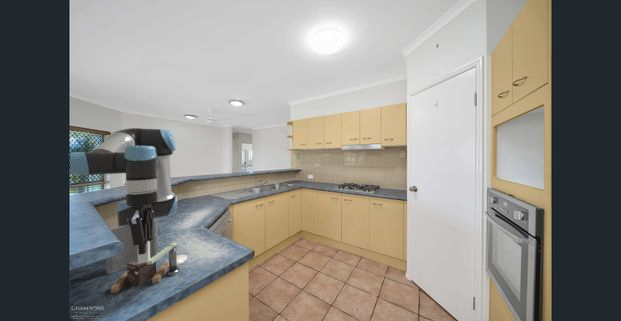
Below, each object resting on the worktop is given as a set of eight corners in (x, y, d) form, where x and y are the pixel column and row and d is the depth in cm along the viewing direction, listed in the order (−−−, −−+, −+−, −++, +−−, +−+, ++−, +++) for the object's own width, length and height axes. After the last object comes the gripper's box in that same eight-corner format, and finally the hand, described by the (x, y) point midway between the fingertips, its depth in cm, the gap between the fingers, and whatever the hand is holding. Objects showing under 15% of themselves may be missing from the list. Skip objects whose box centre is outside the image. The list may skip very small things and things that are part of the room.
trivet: (165, 259, 81) (165, 257, 81) (189, 254, 85) (189, 252, 85) (158, 270, 73) (158, 268, 73) (184, 264, 77) (184, 262, 77)
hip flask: (106, 274, 71) (105, 224, 71) (106, 270, 74) (105, 222, 73) (158, 257, 83) (157, 214, 82) (157, 254, 85) (156, 213, 85)
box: (126, 283, 66) (126, 263, 66) (146, 273, 71) (145, 255, 71) (138, 286, 64) (137, 266, 64) (156, 276, 70) (156, 257, 69)
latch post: (168, 270, 73) (167, 246, 72) (181, 268, 74) (180, 244, 74) (164, 277, 68) (163, 251, 68) (178, 274, 70) (177, 249, 70)
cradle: (126, 276, 70) (126, 271, 70) (168, 267, 75) (167, 262, 75) (110, 294, 60) (110, 288, 60) (159, 282, 66) (158, 277, 66)
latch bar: (144, 265, 59) (144, 261, 59) (170, 245, 73) (170, 242, 73) (154, 264, 60) (154, 260, 60) (178, 244, 73) (178, 242, 73)
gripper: (137, 189, 64) (139, 254, 65) (115, 197, 52) (117, 276, 53) (163, 188, 67) (164, 250, 68) (148, 194, 55) (150, 270, 56)
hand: (144, 261), depth 60 cm, fingers closed
